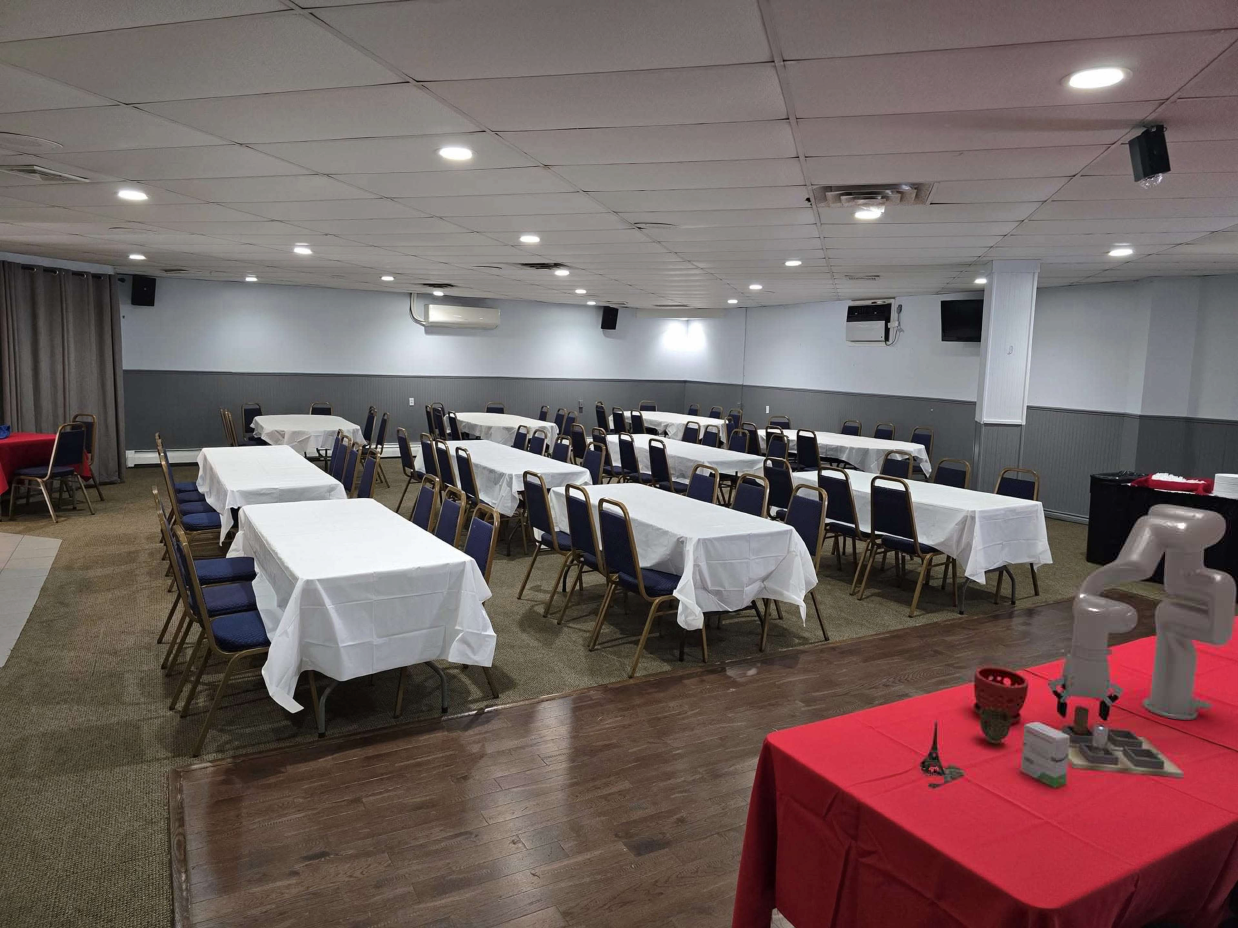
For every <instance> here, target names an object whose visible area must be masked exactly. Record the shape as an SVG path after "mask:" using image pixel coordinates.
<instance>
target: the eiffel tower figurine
mask: <svg viewBox="0 0 1238 928" xmlns="http://www.w3.org/2000/svg"><path fill="white" fill-rule="evenodd" d="M937 720H938V719H937V718H936V719H935V722H934V730H933V731H934V732H933V738H932V744H931V746H930V750H929V752H928V754H926V755H925V758H923V759H922V760H921V761H920V762H919V766H920V769H921V771H922V774H923V775H927V776H937V777H943V782H942V783H936V782H935V783H934V782H933V783H932V782H929V783H928V784H929V785H927V787H929V788H931V787H934V788H932V789H933V790H934V789H936V788H939V787H940V786H943V785H945V784H948V783H949V782H952V781H954V780H956V779H959V778H962V777H965V775H966V774H965V772H964V769H962V768H960V767H958V766H957V765H953V764H949V765H947V766H946V767H945V768H944V765H942V761H941V760H942V759H940V758H939V757H942V756H941V755H939V749H938V726H939V725H938V724H939V723H938V722H937ZM938 755H939V756H938ZM945 759H946V760H948V759H947V758H945ZM948 761H950V760H948ZM948 761H947V762H948ZM936 766H937V767H938V768H939V769H938V770H940V771H938V772H937V770H935V769H934V771H933V772H931V770H929V768H930V767H936ZM921 767H922V768H921ZM947 767H948V768H947ZM923 768H925V769H923ZM943 768H944V769H945V770H944V769H943ZM933 773H934V774H933Z"/></svg>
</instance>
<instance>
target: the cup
mask: <svg viewBox="0 0 1238 928" xmlns="http://www.w3.org/2000/svg"><path fill="white" fill-rule="evenodd" d="M979 721H980V730H981V732H982V733H983V735H985V736H986V737H985V740H986V742H987V743H989V744H990V745H993V746H999V745H1001V744H1002V742H1003V740H1004V739H1005V738H1007V737H1008V736H1009V732H1010V729H1011V725H1012V723H1011V721H1012V717H1010V713H1008V712H1007V710H1005V711H1002V710H1001V709H999V711H997V709H996V708H995V707H994V708H993V709H992V707H990V708H989V709H988V710H987V707H985V710H984V709H983V708H981V710H980V716H979Z"/></svg>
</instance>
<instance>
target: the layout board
mask: <svg viewBox="0 0 1238 928" xmlns="http://www.w3.org/2000/svg"><path fill="white" fill-rule="evenodd" d="M1073 726H1074V725H1069V724H1062V729H1061V730H1059V729H1056V730H1057V731H1059V732H1062V733H1064V734H1066V735H1068V736H1070V739H1069V752H1068V764H1069V765H1070V766H1071V767H1072V768H1073V769H1079V770H1082V769H1083V770H1089V771H1090V770H1092V771H1103V772H1112V773H1113V772H1114V773H1121V774H1122V773H1124V774H1135V775H1146V776H1159V777H1168V778H1169V777H1170V778H1180V779H1183V778H1184V772H1183V771H1182V770H1181V769H1180V768H1179V767H1178V766H1177V765H1175V764H1174V762H1172V761H1171V760H1170V759H1169V758H1168V757H1166V755H1164V753H1162V752H1161V751H1160V750H1159V749H1157V747H1155V746H1154V744H1152V743H1151V742H1150V741H1149V740H1148V739H1147V738H1146V737H1142V736H1141V737H1140V736H1138V735H1136V734H1135V733H1134V732H1133V731H1132V730H1130V729H1120V728H1119V729H1118V728H1109V727H1108V726H1107V725H1104V724H1101V723H1094V724H1093V729H1091V728H1090V727H1089V726H1087V736H1081V735H1074V734H1073Z"/></svg>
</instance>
